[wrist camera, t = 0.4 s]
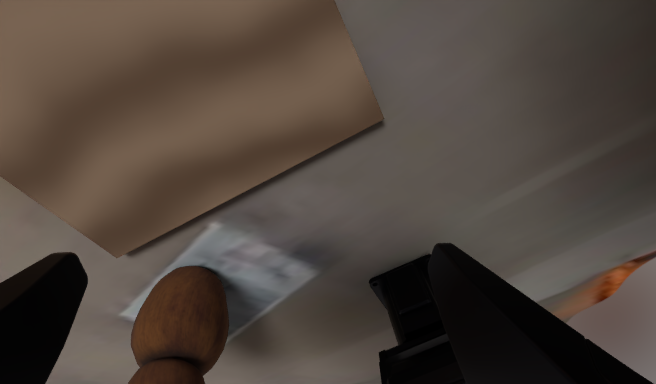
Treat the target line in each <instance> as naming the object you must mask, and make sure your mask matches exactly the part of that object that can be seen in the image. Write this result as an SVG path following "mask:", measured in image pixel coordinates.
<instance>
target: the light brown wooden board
mask: <svg viewBox="0 0 656 384" xmlns="http://www.w3.org/2000/svg"><path fill="white" fill-rule="evenodd" d="M383 119H384V117H383V114H382V112H381V110H380V107H379V105H378V103H377V100H376V98H375V96H374V93H373V91H372V88H371V86H370V84H369V81H368V79H367V77H366V74H365V72H364V70H363V67H362V65H361V62H360V60H359V58H358V55H357V53H356V51H355V48H354V46H353V44H352V41H351V39H350V36H349V34H348V32H347V29H346V27H345V25H344V22H343V20H342V18H341V15H340V13H339V10H338V8H337V6H336V3H335V1H334V0H0V176H1V177H2V178H3V179H5V180H6V181H8V182H9V183H11V184H12V185H13V186H15V187H16V188H18V189H19V190H21V191H22V192H23V193H25V194H26V195H28V196H29V197H30V198H32V199H33V200H35V201H36V202H38V203H39V204H40V205H42V206H43V207H45V208H46V209H48V210H49V211H50V212H52V213H53V214H55V215H56V216H58V217H59V218H60V219H62V220H63V221H65V222H66V223H67V224H69V225H70V226H72V227H73V228H75V229H76V230H77V231H79V232H80V233H82V234H83V235H85V236H86V237H87V238H89V239H90V240H92V241H93V242H95V243H96V244H97V245H99V246H100V247H102V248H103V249H104V250H106V251H107V252H109V253H110V254H112V255H113V256H114V257H116V258H118V257H120V256H122V255H124V254H126V253H128V252H130V251H132V250H134V249H136V248H138V247H140V246H141V245H143V244H145V243H147V242H149V241H151V240H153V239H155V238H157V237H159V236H161V235H163V234H164V233H166V232H168V231H170V230H172V229H174V228H176V227H178V226H180V225H182V224H184V223H186V222H188V221H189V220H191V219H193V218H195V217H197V216H199V215H201V214H203V213H205V212H207V211H209V210H211V209H212V208H214V207H216V206H218V205H220V204H222V203H224V202H226V201H228V200H230V199H232V198H234V197H235V196H237V195H239V194H241V193H243V192H245V191H247V190H249V189H251V188H253V187H255V186H257V185H259V184H260V183H262V182H264V181H266V180H268V179H270V178H272V177H274V176H276V175H278V174H280V173H282V172H283V171H285V170H287V169H289V168H291V167H293V166H295V165H297V164H299V163H301V162H303V161H305V160H306V159H308V158H310V157H312V156H314V155H316V154H318V153H320V152H322V151H324V150H326V149H328V148H330V147H331V146H333V145H335V144H337V143H339V142H341V141H343V140H345V139H347V138H349V137H351V136H353V135H354V134H356V133H358V132H360V131H362V130H364V129H366V128H368V127H370V126H372V125H374V124H376V123H377V122H379V121H381V120H383Z"/></svg>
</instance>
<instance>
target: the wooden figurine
mask: <svg viewBox="0 0 656 384" xmlns="http://www.w3.org/2000/svg"><path fill="white" fill-rule="evenodd" d="M228 329H229V317H228V309H227V302H226V295H225V291H224V288H223V285H222V282H221V281H220V279H219V278H218V277H217V276H216V275H215V274H213V273H212V272H211V271H209V270H207V269H204V268H201V267H199V266H186V267H180V268H177V269H175V270H173V271H172V272H170V273H169V274H167V275H166V276H165V277H163V278H162V279H161V280H160V281H159V282H158V283H157V284H156V285H155V287H154V288H153V289H152V291H151V292H150V294H149V296H148V297H147V299H146V300H145V302H144V304H143V305H142V307H141V308H140V311H139V313H138V315H137V317H136V320H135V323H134V326H133V330H132V333H131V348H132V350H133V353H134V356H135V359H136V362H137V364H138V365H139V367H140V368H139V369H138V371H137V372H136V373H135V374H134V376H133V377H132V378H131V380H130V381H129V382H128V384H205V382H204V378H203V375H205V374H206V373H207V372H208V371H209V370H210V369H211V368H212V367H213V366H214V364H215V363H216V362H217V360H218V358H219V357H220V355H221V353H222V351H223V350H224V346H225V343H226V340H227V336H228Z"/></svg>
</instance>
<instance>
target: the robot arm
mask: <svg viewBox="0 0 656 384" xmlns="http://www.w3.org/2000/svg"><path fill="white" fill-rule="evenodd" d="M87 284H88V277H87V274H86V272H85V270H84V268H83V266H82V264H81V262H80V260H79V258H78V256H77V255H76V254H75V253H72V252H63V253H53V254H50V255H49V256H47V257H45V258H43V259H42V260H40V261H38V262H36V263H35V264H33V265H31V266H29V267H28V268H26V269H24V270H22V271H21V272H19V273H17V274H15V275H14V276H12V277H10V278H9V279H7V280H5V281H3V282H2V283H0V384H45V383H46V381H47V379H48V377H49V375H50V373H51V371H52V369H53V367H54V365H55V363H56V361H57V359H58V357H59V355H60V353H61V351H62V349H63V347H64V344H65V342H66V340H67V337H68V335H69V332H70V329H71V327H72V324H73V322H74V319H75V316H76V314H77V311H78V308H79V306H80V303H81V301H82V298H83V295H84V293H85V290H86V287H87ZM369 284H370V287H371V288H372V290H373V291H374V292H375V294H376V295H377V297H378V298H379V299H380V301H381V302H382V304H383V305H384V306H385V308H386V309H387V311H388V314H389V317H390V320H391V323H392V327H393V330H394V333H395V336H396V339H397V342H398V346H396V347H393V348H391V349H389V350H386V351H385V350H383V351H381V352H379V358H380V362H379V365H380V373H381V382H382V384H653V383H652V382H650V381H649V380H647V379H646V378H644V377H643V376H641V375H640V374H638V373H637V372H635V371H633V370H632V369H631V368H629V367H627V366H626V365H625V364H623V363H622V362H620V361H619V360H617V359H616V358H614V357H613V356H612V355H610V354H609V353H607V352H606V351H604V350H603V349H601V348H600V347H599V346H597V345H596V344H594V343H593V342H591V341H590V340H589V339H585V338H584V336H583V335H581V334H580V333H578V332H577V331H576V330H574V329H573V328H571V327H570V326H568V325H567V324H566V323H564V322H563V321H561V320H560V319H559V318H557V317H556V316H554V315H553V314H552V313H550V312H549V311H547V310H546V309H544V308H543V307H542V306H540V305H539V304H537V303H536V302H534V301H533V300H532V299H530V298H529V297H527V296H526V295H524V294H523V293H522V292H520V291H519V290H517V289H516V288H515V287H513V286H512V285H510V284H509V283H507V282H506V281H505V280H503V279H502V278H500V277H499V276H497V275H496V274H495V273H493V272H492V271H490V270H489V269H488V268H486V267H485V266H483V265H482V264H480V263H479V262H478V261H476V260H475V259H473V258H472V257H470V256H469V255H468V254H466V253H465V252H463V251H462V250H460V249H459V248H458V247H456V246H455V245H453V244H451V243H438V244H436V245H435V246H434V249H433V251H432V254H428V255H425V256H423V257H421V258H418V259H416V260H414V261H411V262H409V263H407V264H404V265H402V266H400V267H397V268H395V269H393V270H390V271H388V272H386V273H383V274H381V275H379V276H376V277H374V278H372V279H370V281H369Z"/></svg>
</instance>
